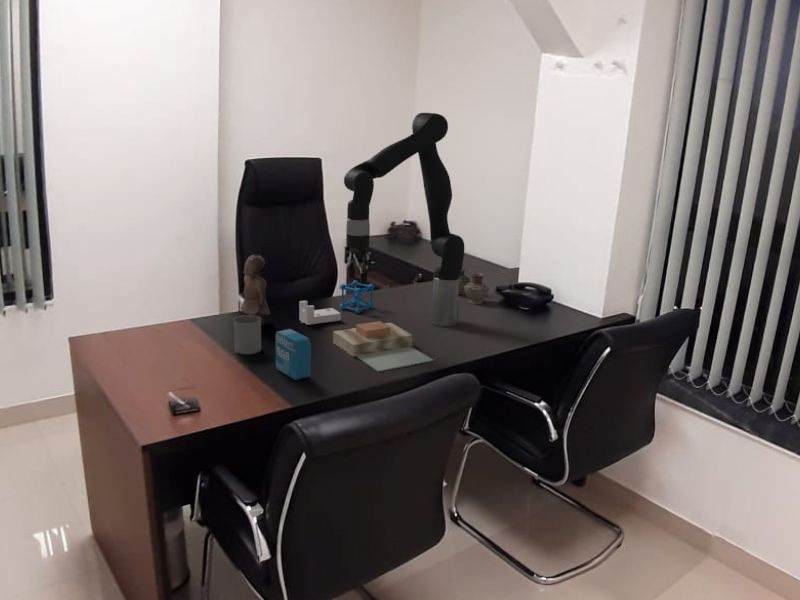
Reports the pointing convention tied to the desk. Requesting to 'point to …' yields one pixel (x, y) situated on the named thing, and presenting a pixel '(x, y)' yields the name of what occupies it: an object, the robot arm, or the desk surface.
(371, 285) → the molecular structure
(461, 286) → the pottery
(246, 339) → the cup
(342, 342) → the light wood flat block
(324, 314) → the bracket
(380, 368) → the mat
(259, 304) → the clay figurine
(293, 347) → the data package
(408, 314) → the desk surface
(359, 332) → the tile
